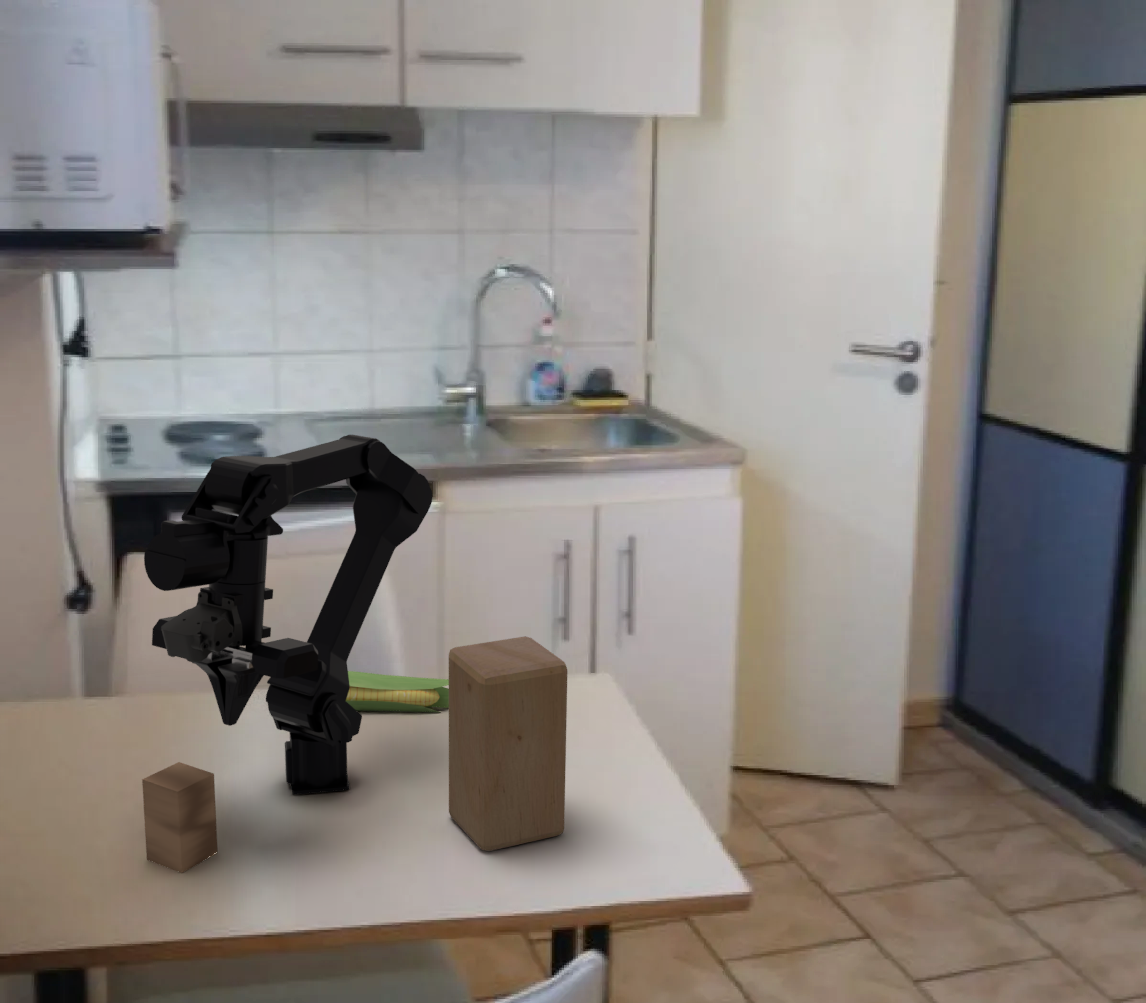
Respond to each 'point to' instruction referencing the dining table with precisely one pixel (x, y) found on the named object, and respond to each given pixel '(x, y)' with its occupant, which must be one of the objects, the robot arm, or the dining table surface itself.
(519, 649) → the wooden block
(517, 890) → the dining table surface
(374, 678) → the edible corn
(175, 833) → the walnut block
